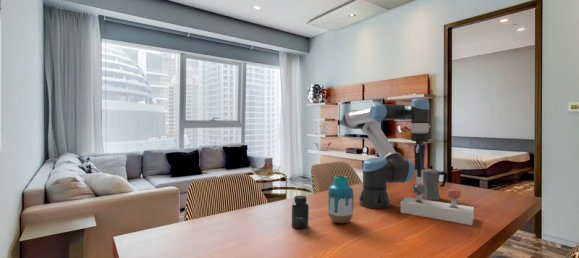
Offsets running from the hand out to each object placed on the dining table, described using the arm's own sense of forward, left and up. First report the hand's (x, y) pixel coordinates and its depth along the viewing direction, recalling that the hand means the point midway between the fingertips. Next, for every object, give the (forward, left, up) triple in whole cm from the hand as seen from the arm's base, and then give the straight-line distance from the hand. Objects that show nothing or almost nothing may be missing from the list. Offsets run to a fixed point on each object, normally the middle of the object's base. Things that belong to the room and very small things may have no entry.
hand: (419, 183), depth 130 cm
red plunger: (+14, 0, -9) cm, 17 cm away
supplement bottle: (-35, -47, -14) cm, 60 cm away
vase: (-24, -33, -14) cm, 43 cm away
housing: (+7, 0, -14) cm, 15 cm away
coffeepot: (+1, +30, -14) cm, 33 cm away
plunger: (0, 0, -9) cm, 9 cm away
